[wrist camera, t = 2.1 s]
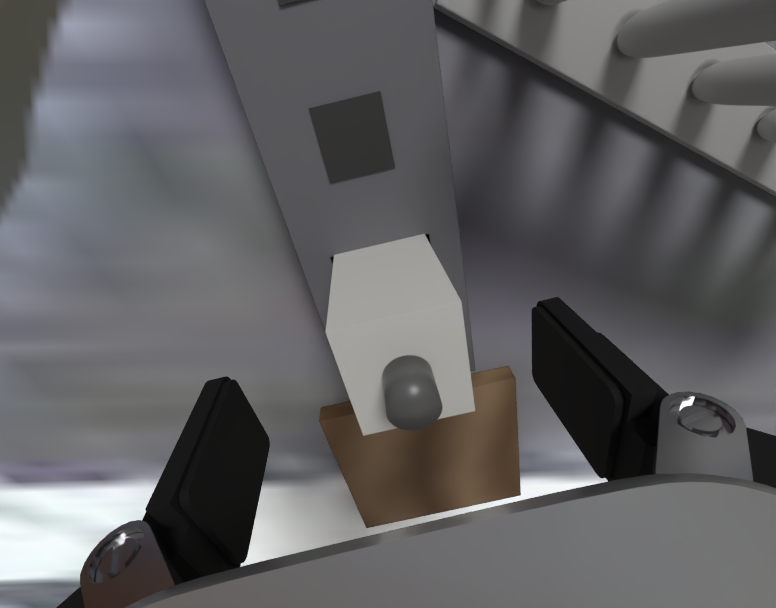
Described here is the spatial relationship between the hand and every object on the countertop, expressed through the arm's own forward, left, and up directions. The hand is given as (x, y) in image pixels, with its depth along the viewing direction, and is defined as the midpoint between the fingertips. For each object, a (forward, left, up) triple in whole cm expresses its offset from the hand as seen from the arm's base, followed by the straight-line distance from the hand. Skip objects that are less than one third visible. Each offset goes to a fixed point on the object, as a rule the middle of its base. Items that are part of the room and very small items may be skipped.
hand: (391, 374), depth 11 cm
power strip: (0, -5, -10) cm, 11 cm away
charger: (0, 0, -9) cm, 9 cm away
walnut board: (0, +16, -10) cm, 19 cm away
